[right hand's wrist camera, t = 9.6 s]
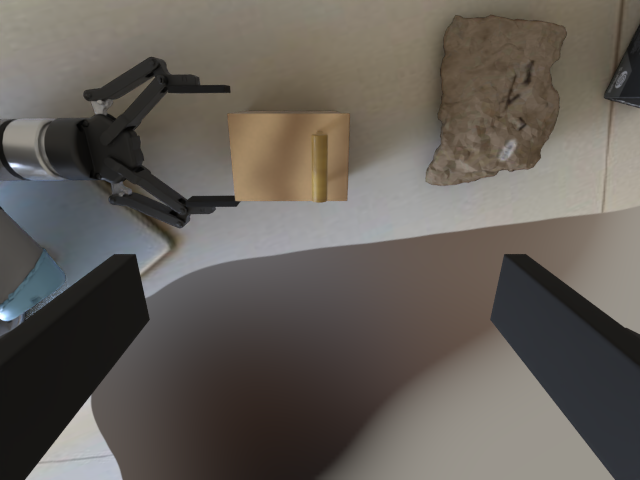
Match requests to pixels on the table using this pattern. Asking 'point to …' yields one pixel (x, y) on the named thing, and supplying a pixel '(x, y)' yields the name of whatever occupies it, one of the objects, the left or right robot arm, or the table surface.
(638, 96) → the graphics card box
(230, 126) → the lid
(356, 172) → the table surface
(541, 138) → the stone
